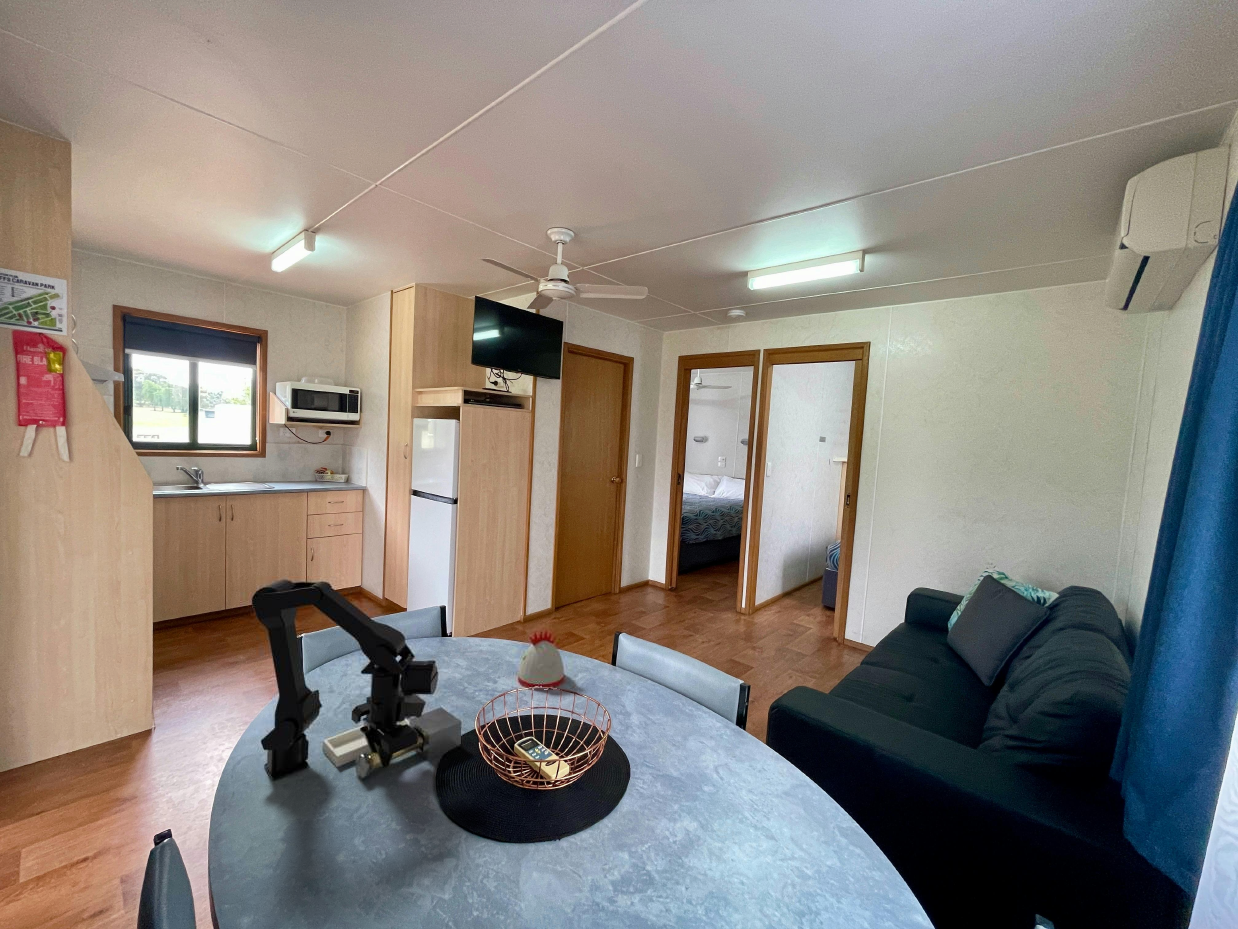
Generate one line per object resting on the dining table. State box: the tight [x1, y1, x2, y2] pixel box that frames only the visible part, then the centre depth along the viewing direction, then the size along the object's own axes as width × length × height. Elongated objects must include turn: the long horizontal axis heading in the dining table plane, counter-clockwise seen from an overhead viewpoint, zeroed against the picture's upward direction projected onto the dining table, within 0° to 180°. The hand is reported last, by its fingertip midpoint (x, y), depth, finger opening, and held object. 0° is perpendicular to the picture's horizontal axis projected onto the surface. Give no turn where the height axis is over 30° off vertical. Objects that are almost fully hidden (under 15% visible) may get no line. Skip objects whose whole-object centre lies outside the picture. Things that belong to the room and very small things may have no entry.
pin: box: [354, 735, 423, 780], centre depth 110 cm, size 13×5×5 cm, turn 140°
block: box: [408, 706, 463, 762], centre depth 117 cm, size 8×9×6 cm
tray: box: [322, 717, 410, 768], centre depth 117 cm, size 17×8×2 cm, turn 139°
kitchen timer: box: [517, 629, 565, 688], centre depth 153 cm, size 14×14×15 cm
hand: (382, 763), depth 108 cm, fingers closed on pin, 3 cm apart
